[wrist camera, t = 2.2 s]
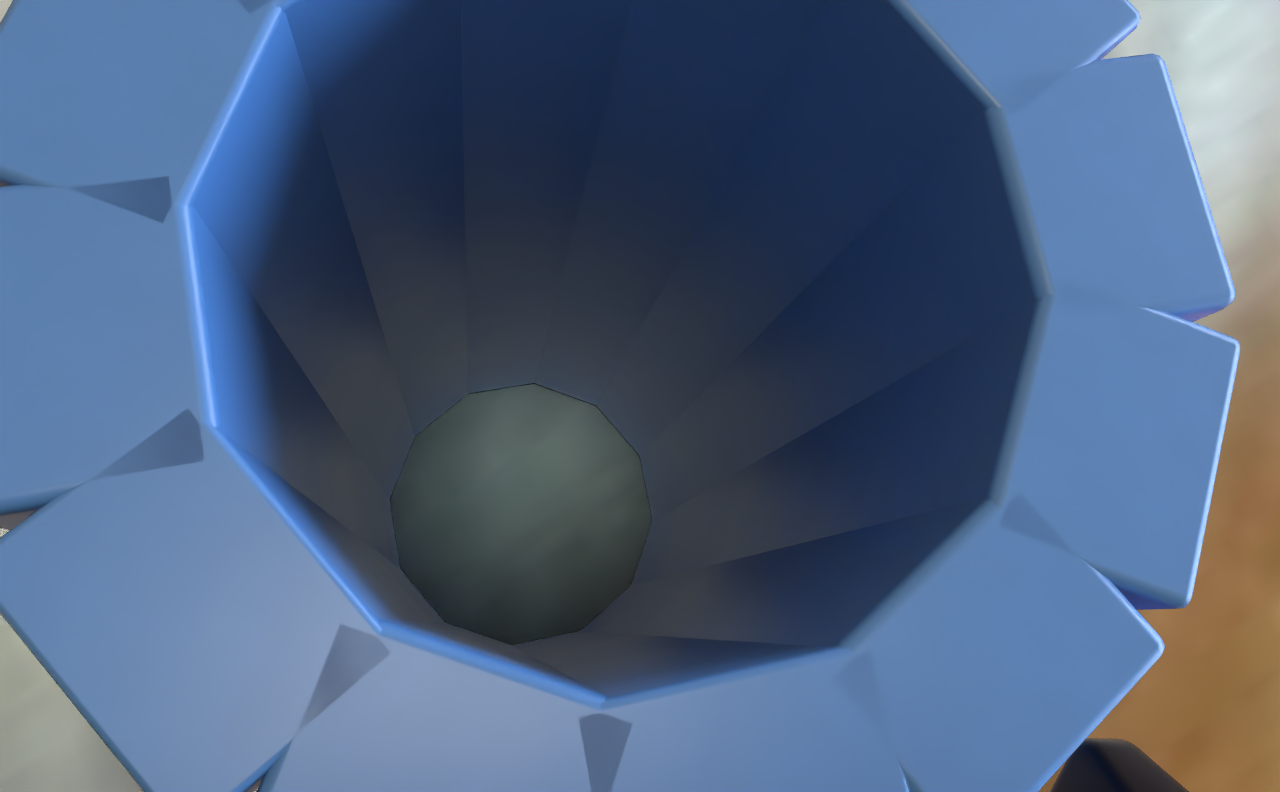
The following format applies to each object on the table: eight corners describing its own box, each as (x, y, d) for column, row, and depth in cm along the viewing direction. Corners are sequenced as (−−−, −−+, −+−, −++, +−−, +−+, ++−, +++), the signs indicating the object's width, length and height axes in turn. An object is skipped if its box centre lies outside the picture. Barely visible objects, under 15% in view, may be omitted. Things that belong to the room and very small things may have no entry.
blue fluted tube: (646, 771, 19) (1090, 1149, 5) (252, 638, 18) (-377, 679, 5) (763, 397, 21) (1321, -39, 7) (407, 265, 20) (272, -479, 7)
